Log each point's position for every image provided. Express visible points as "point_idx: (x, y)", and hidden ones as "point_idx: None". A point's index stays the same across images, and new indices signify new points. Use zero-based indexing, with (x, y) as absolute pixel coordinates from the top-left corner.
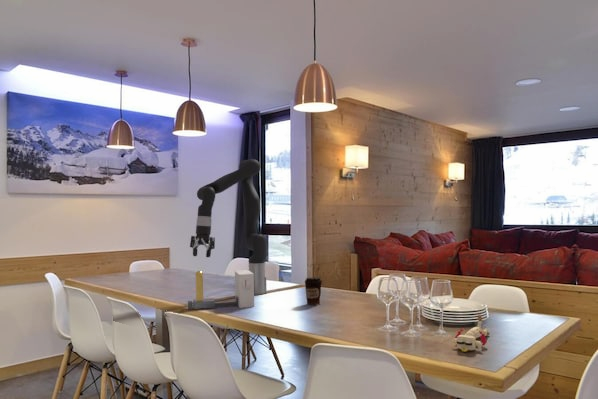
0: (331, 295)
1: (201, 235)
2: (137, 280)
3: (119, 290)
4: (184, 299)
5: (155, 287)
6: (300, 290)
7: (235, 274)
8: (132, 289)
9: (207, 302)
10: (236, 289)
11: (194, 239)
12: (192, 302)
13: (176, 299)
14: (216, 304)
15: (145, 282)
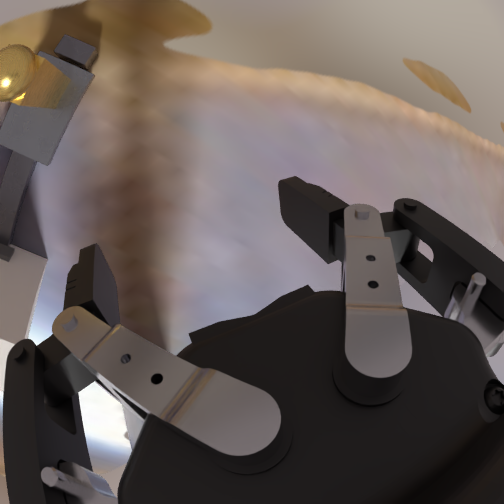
0: None
1: (375, 485)
2: (483, 226)
3: (469, 137)
4: (265, 146)
5: (441, 208)
6: (106, 447)
7: (7, 328)
8: (460, 160)
9: (10, 108)
10: (4, 277)
11: (460, 300)
12: (54, 51)
13: (291, 128)
14: (12, 154)
15: (471, 226)
